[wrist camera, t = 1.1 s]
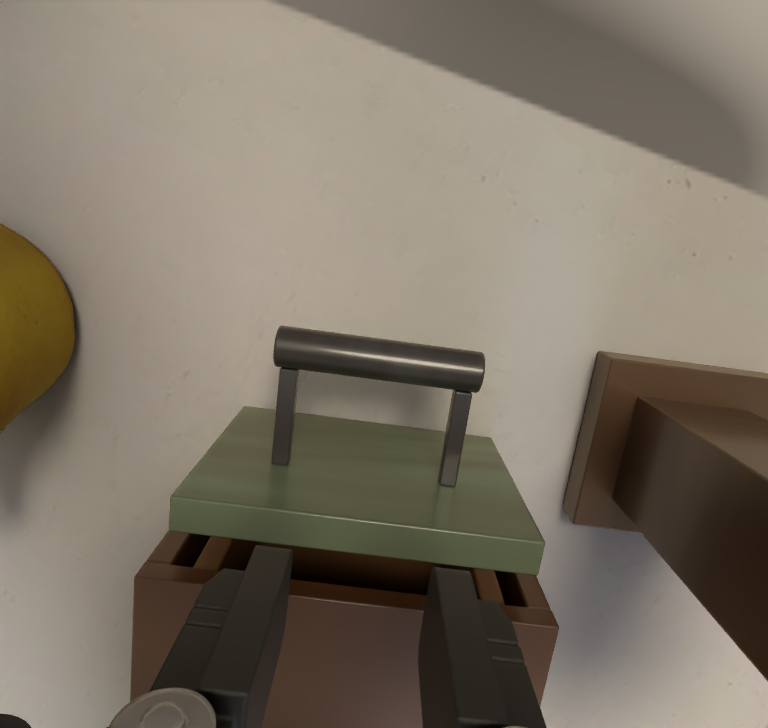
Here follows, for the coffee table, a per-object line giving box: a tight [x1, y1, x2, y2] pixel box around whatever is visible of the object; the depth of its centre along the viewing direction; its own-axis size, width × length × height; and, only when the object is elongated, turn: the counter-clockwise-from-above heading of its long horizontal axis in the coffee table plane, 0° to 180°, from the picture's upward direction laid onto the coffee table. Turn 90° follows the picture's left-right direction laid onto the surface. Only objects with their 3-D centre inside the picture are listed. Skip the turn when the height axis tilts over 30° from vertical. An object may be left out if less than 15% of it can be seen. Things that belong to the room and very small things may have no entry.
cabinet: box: [130, 530, 559, 728], centre depth 23 cm, size 15×13×11 cm
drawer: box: [169, 326, 545, 605], centre depth 22 cm, size 18×11×9 cm, turn 172°
